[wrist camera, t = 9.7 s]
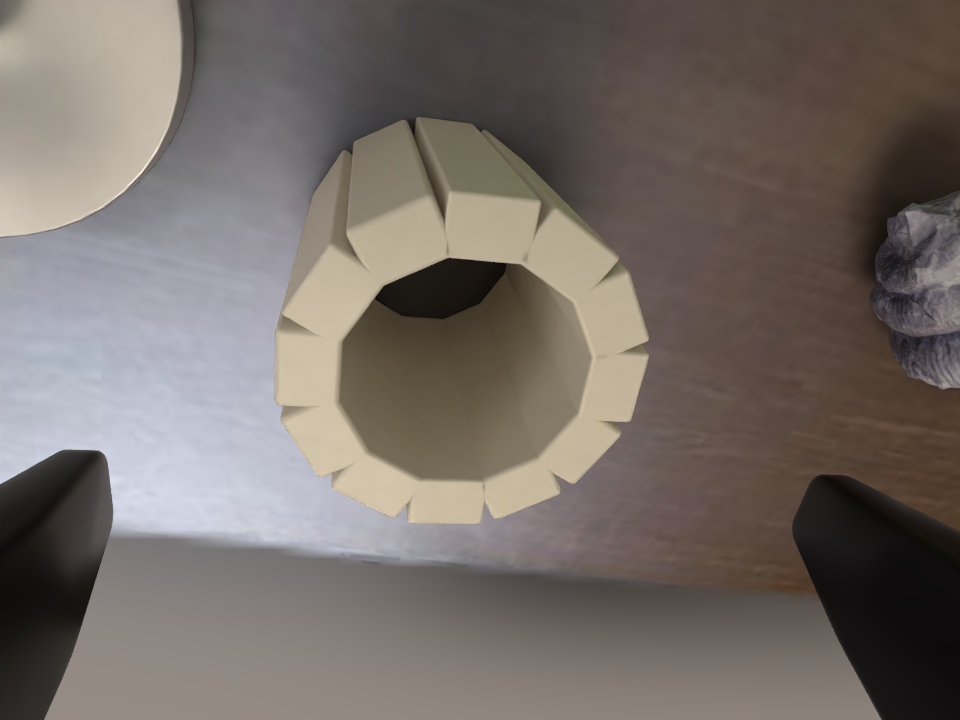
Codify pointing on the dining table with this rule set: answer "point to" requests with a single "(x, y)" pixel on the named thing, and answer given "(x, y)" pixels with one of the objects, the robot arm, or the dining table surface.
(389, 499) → the beige fluted tube
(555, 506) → the dining table surface
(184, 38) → the stand
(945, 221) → the seashell
